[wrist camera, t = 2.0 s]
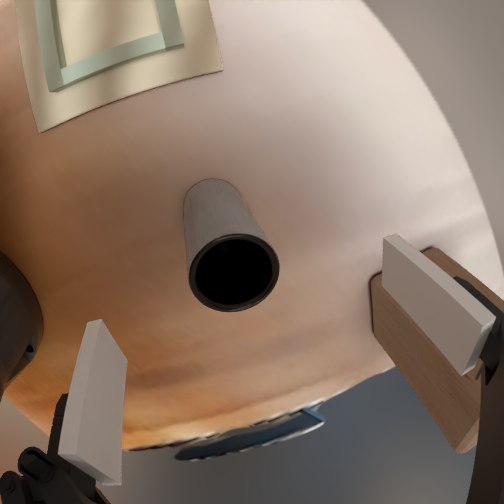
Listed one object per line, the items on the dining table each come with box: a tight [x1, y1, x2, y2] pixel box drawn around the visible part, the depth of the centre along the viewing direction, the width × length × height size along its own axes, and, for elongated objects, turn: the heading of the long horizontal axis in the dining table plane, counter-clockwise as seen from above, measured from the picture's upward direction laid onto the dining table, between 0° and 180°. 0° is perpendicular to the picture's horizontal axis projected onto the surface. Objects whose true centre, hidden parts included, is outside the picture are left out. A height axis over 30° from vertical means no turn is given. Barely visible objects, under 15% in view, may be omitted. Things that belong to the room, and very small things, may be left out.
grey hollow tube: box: [183, 179, 280, 312], centre depth 19 cm, size 4×4×10 cm
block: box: [371, 248, 504, 454], centre depth 25 cm, size 10×10×20 cm
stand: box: [15, 0, 224, 133], centre depth 14 cm, size 14×14×2 cm
